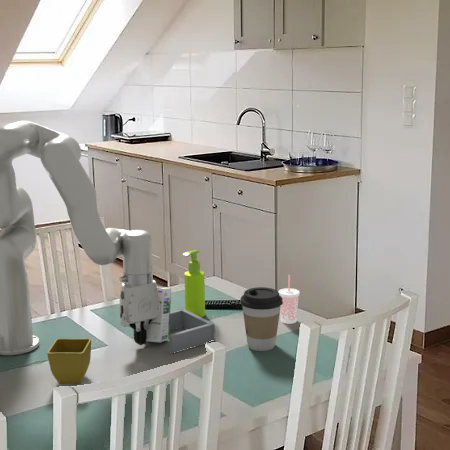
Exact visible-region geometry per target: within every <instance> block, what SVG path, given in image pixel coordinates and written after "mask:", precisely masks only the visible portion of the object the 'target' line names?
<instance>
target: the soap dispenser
mask: <svg viewBox="0 0 450 450" xmlns="http://www.w3.org/2000/svg"><path fill="white" fill-rule="evenodd" d="M199 253H200V250H199V249H198V250H197V249H192V250H191V249H190V250H188V251H186V252H183V253H182V257H183V256H184V257H189V256H190V260H188V263H187V264H188V271H185V272H184V274H183V275H184V305H185V306H184V309H185V310H187V311H189V312H191V313H193V314H195V315H197V316H199V317H202V318H203V317H205V316H206V302H205V301H206V298H205V297H206V296H205V295H206V294H205V285H206V284H205V272H204V271H202V270H201V261H200V260H198V254H199Z"/></svg>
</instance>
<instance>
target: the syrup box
mask: <svg viewBox="0 0 450 450" xmlns="http://www.w3.org/2000/svg"><path fill="white" fill-rule="evenodd" d="M157 289H158V294H159V301H160V315H159V316H158V317H156V318H155V320H153V321H151V323H150V324H149V326H148V329H147V330H146V334H147V339H146V342H151V343H163V342H167V341H169V335H170V331H169V323H170V312H171V302H172V300H171V299H172V288H171V287H169V286H168V287H167V286H157Z"/></svg>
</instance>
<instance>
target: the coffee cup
mask: <svg viewBox="0 0 450 450" xmlns="http://www.w3.org/2000/svg"><path fill="white" fill-rule="evenodd" d="M278 291H279V290H276V289H275V288H272V287H266V286H264V287H263V286H262V287H261V286H260V287H259V286H257V287H251V288H249V289H246V290H244V292H243V295H241V297H240V298H239V299H240V301H239V304H240V305H241V306H242V314H243V320H244V329H245V334H246V335H245V336H246V342H247V347H248V348H249V349H250V350H252V351H255V352H256V351H257V352H267V351H272V350H273V349H275V345H276V342H277V336H278V335H277V334H278V329H279V321H280V316H281V315H280V307H281V305H282V304H283V301H282V300H283V299H282V297H281V296H280V295H279V292H278Z"/></svg>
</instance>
